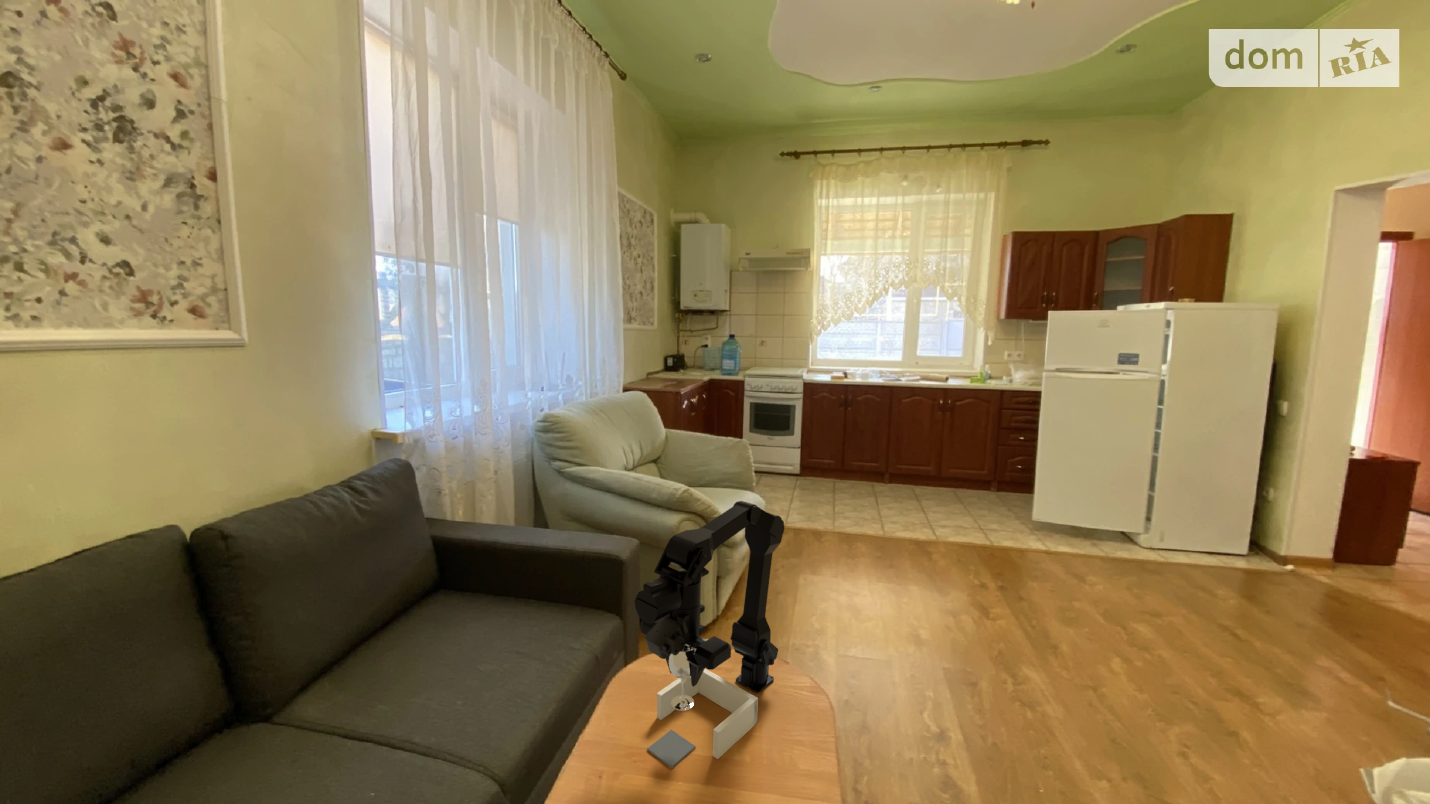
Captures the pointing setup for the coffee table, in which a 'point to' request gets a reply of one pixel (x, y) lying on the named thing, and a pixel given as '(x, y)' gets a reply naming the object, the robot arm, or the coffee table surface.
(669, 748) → the felt mat
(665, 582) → the robot arm
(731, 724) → the corner wall
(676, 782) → the coffee table surface
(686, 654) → the wineglass
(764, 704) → the coffee table surface
